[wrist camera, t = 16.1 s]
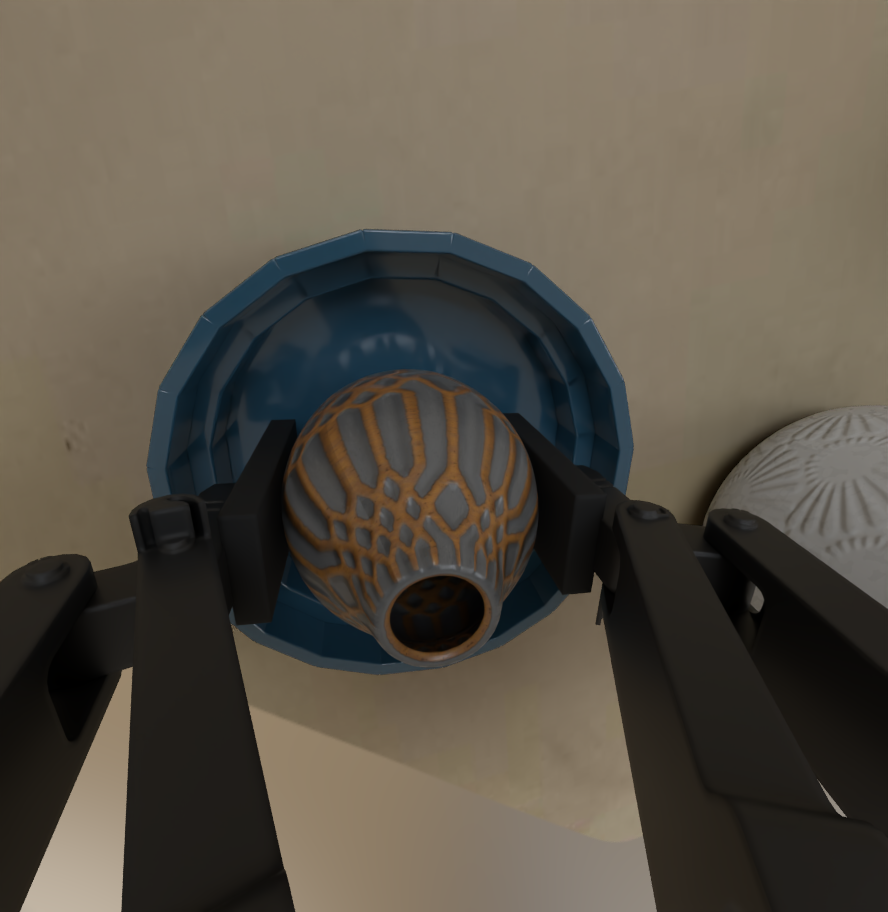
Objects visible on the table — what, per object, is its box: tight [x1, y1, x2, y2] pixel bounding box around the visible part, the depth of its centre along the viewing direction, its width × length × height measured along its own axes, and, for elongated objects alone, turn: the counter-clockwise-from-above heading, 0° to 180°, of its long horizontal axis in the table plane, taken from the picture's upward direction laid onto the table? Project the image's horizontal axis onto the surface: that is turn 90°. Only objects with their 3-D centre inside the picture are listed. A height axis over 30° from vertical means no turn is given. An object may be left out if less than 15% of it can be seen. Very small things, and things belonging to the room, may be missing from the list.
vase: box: [281, 369, 539, 667], centre depth 13 cm, size 7×7×9 cm
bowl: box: [147, 229, 634, 675], centre depth 16 cm, size 14×14×4 cm
